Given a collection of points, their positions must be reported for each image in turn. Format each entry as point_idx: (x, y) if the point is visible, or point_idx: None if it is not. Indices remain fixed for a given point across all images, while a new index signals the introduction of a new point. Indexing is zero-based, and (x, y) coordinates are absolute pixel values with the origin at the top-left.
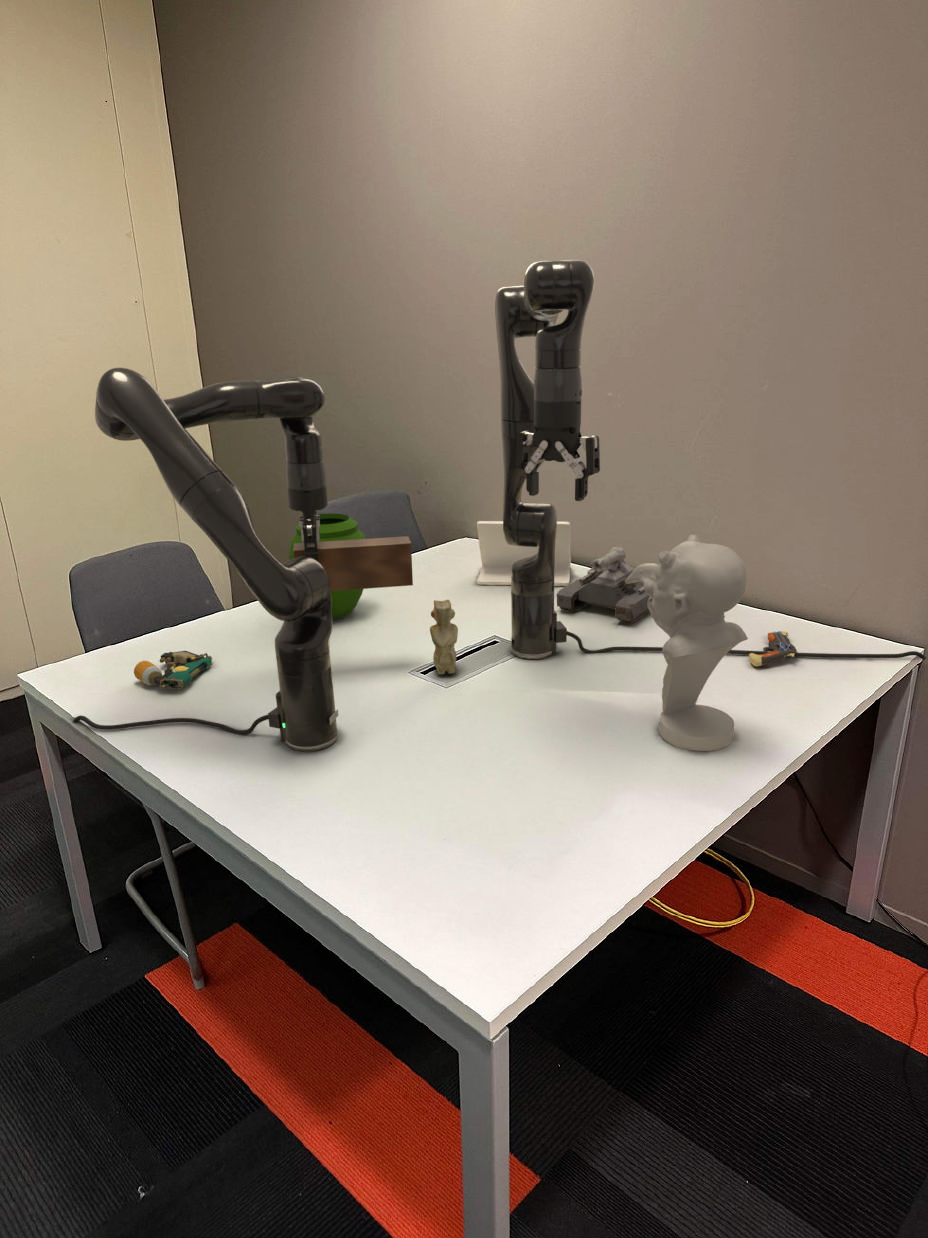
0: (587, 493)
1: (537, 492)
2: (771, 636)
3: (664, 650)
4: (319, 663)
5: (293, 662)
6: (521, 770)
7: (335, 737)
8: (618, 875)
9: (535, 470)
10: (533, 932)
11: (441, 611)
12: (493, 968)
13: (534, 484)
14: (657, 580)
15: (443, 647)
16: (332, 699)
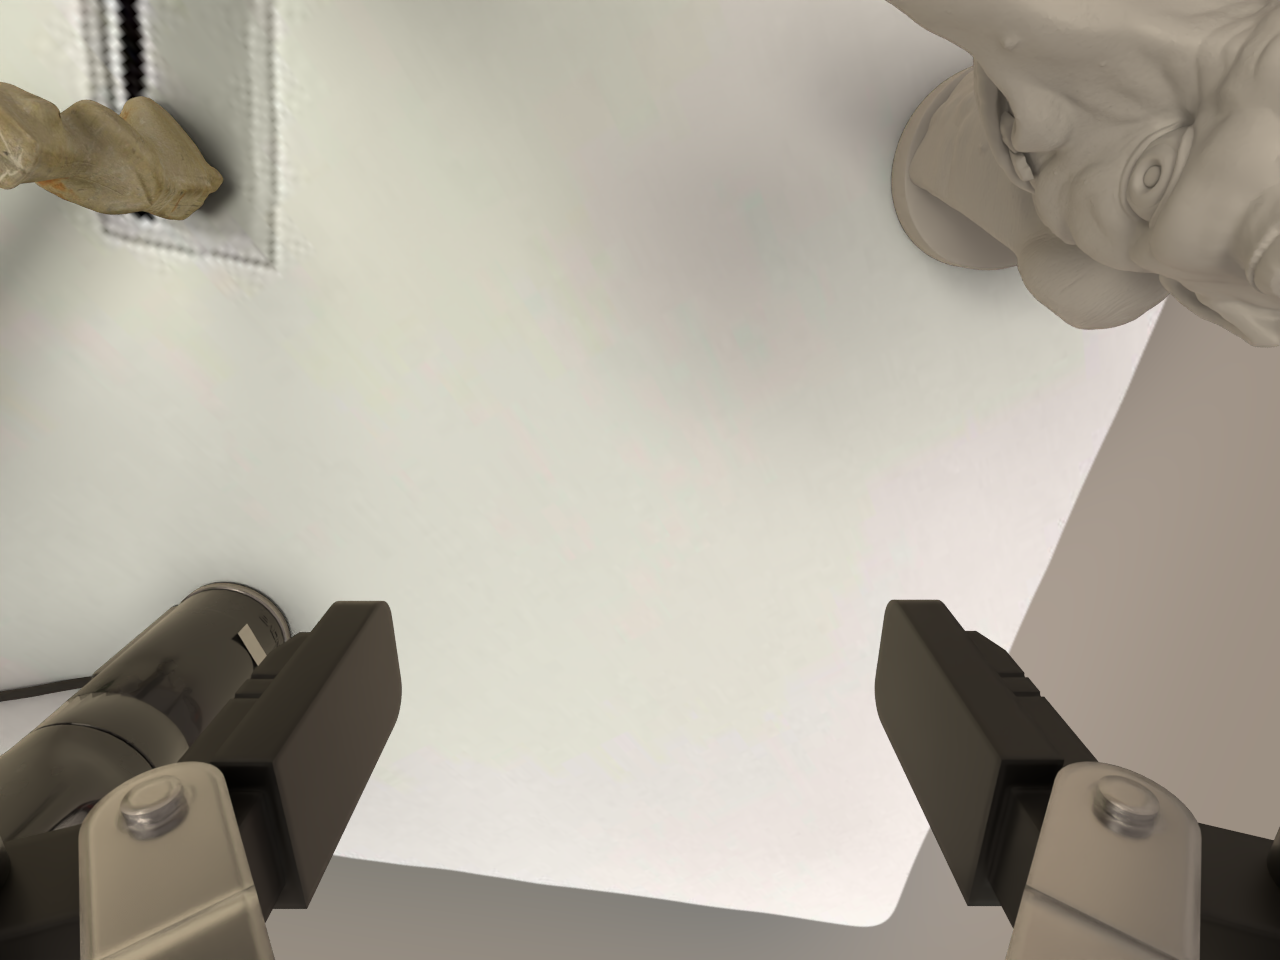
0: (1003, 651)
1: (384, 624)
2: None
3: (1041, 301)
4: None
5: None
6: (675, 523)
7: (279, 621)
8: None
9: (250, 846)
10: (879, 827)
11: (29, 177)
12: (860, 885)
13: (358, 752)
14: (1155, 258)
15: (151, 205)
16: (228, 671)
